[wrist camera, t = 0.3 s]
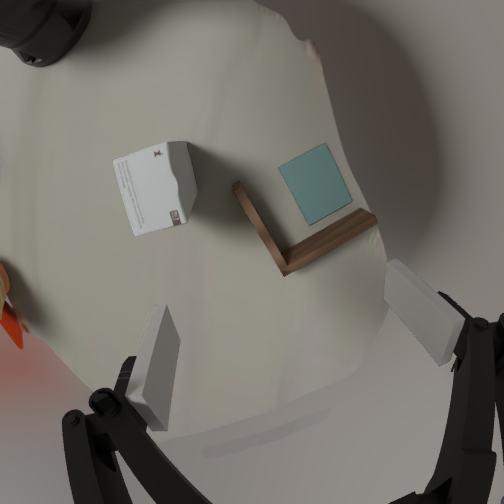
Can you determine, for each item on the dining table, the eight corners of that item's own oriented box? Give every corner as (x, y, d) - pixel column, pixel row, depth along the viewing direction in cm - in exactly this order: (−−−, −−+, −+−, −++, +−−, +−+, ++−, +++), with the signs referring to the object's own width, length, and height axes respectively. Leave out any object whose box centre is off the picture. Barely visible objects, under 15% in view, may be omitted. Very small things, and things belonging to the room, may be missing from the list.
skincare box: (148, 150, 36) (107, 156, 22) (188, 139, 36) (166, 136, 22) (162, 205, 39) (130, 239, 25) (201, 195, 39) (188, 224, 25)
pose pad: (278, 167, 38) (278, 167, 38) (324, 143, 37) (325, 143, 37) (308, 225, 42) (309, 225, 42) (351, 200, 41) (352, 201, 41)
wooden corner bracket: (232, 185, 39) (232, 191, 34) (327, 134, 37) (340, 133, 32) (277, 262, 44) (283, 276, 39) (363, 213, 42) (377, 222, 37)
